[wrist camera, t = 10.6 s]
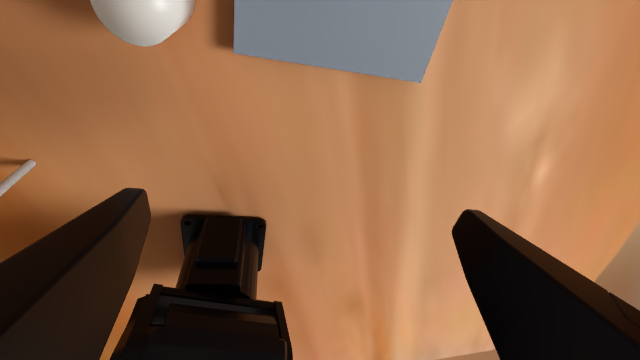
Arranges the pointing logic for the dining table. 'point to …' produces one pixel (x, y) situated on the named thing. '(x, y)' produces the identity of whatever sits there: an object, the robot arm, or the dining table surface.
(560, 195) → the dining table surface
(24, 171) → the lollipop
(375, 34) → the board
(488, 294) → the robot arm
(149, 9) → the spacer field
